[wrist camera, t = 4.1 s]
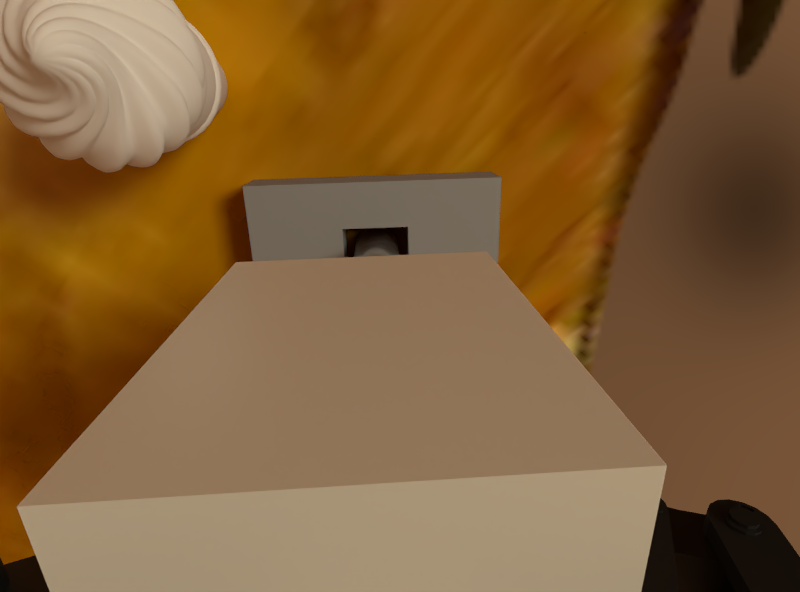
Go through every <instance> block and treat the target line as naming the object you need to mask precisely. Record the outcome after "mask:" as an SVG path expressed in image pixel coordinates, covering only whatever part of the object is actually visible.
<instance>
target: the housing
mask: <svg viewBox="0 0 800 592" xmlns="http://www.w3.org/2000/svg"><path fill="white" fill-rule="evenodd" d="M666 467H667V465H666V464H665V462H664V461H663V460H662V459H661V458H660V456H659V455H658V454H657V453H656V452H655V451H654V450H653V448H652V447H651V446H650V445H649V443H648V442H647V441H646V440H645V439H644V438H643V436H642V435H641V434H640V433H639V432H638V430H637V429H636V428H635V427H634V426H633V424H632V423H631V422H630V421H629V420H628V418H626V416H625V415H624V414H623V413H622V411H621V410H620V409H619V408H618V407H617V405H616V404H615V403H614V402H613V401H612V399H611V398H610V397H609V396H608V395H607V394H606V393H605V391H604V390H603V389H602V388H601V386H600V385H599V384H598V383H597V382H596V381H595V379H594V378H593V377H592V376H591V375H590V373H589V372H588V371H587V370H586V369H585V367H584V366H583V365H582V364H581V363H580V362H579V360H578V359H577V358H576V357H575V356H574V354H573V353H572V352H571V351H570V350H569V348H568V347H567V346H566V345H565V344H564V343H563V341H562V340H561V339H560V338H559V337H558V335H557V334H556V333H555V332H554V331H553V329H552V328H551V327H550V326H549V325H548V324H547V322H546V321H545V320H544V319H543V318H542V316H541V315H540V314H539V313H538V312H537V310H536V309H535V308H534V307H533V306H532V305H531V303H530V302H529V301H528V300H527V299H526V297H525V296H524V295H523V294H522V293H521V291H520V290H519V289H518V288H517V287H516V286H515V284H514V283H513V282H512V281H511V280H510V278H509V277H508V276H507V275H506V274H505V272H504V271H503V270H502V269H501V268H500V267H499V265H498V264H497V263H496V262H495V261H494V259H493V258H492V257H491V256H490V255H489V253H488V252H487V251H483V252H460V253H437V254H413V255H390V256H367V257H344V258H321V259H297V260H274V261H251V262H236V263H235V264H234V265H233V266H232V267H231V268H230V269H229V270H228V272H227V273H226V274H225V275H224V276H223V277H222V278H221V279H220V281H219V282H218V283H217V284H216V285H215V286H214V287H213V288H212V289H211V291H210V292H209V293H208V294H207V295H206V296H205V297H204V298H203V299H202V301H201V302H200V303H199V304H198V305H197V306H196V307H195V308H194V309H193V311H192V312H191V313H190V314H189V315H188V316H187V317H186V318H185V320H184V321H183V322H182V323H181V324H180V325H179V326H178V327H177V328H176V330H175V331H174V332H173V333H172V334H171V335H170V336H169V337H168V338H167V340H166V341H165V342H164V343H163V344H162V345H161V346H160V347H159V348H158V350H157V351H156V352H155V353H154V354H153V355H152V356H151V357H150V359H149V360H148V361H147V362H146V363H145V364H144V365H143V366H142V367H141V369H140V370H139V371H138V372H137V373H136V374H135V375H134V376H133V377H132V379H131V380H130V381H129V382H128V383H127V384H126V385H125V386H124V387H123V389H122V390H121V391H120V392H119V393H118V394H117V395H116V396H115V398H114V399H113V400H112V401H111V402H110V403H109V404H108V405H107V406H106V408H105V409H104V410H103V411H102V412H101V413H100V414H99V415H98V416H97V418H96V419H95V420H94V421H93V422H92V423H91V424H90V425H89V426H88V428H87V429H86V430H85V431H84V432H83V433H82V434H81V435H80V437H79V438H78V439H77V440H76V441H75V442H74V443H73V444H72V445H71V447H70V448H69V449H68V450H67V451H66V452H65V453H64V454H63V455H62V457H61V458H60V459H59V460H58V461H57V462H56V463H55V464H54V465H53V467H52V468H51V469H50V470H49V471H48V472H47V473H46V474H45V476H44V477H43V478H42V479H41V480H40V481H39V482H38V483H37V484H36V486H35V487H34V488H33V489H32V490H31V491H30V492H29V493H28V494H27V496H26V497H25V498H24V499H23V500H22V501H21V502H20V503H19V504H18V506H17V509H18V512H19V514H20V517H21V519H22V522H23V524H24V527H25V530H26V532H27V535H28V537H29V540H30V542H31V545H32V547H33V550H34V553H35V555H36V558H37V560H38V563H39V565H40V568H41V570H42V573H43V576H44V578H45V581H46V583H47V586H48V588H49V591H50V592H641V591H642V586H643V581H644V576H645V571H646V566H647V561H648V556H649V551H650V546H651V541H652V536H653V531H654V527H655V522H656V517H657V512H658V507H659V502H660V497H661V492H662V487H663V482H664V477H665V472H666Z"/></svg>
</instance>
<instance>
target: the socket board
mask: <svg viewBox="0 0 800 592" xmlns="http://www.w3.org/2000/svg"><path fill="white" fill-rule="evenodd" d="M242 187H243V194H244V201H245V209H246V216H247V223H248V230H249V237H250V244H251V251H252V259H253V261H274V260H297V259H321V258H344V257H348V255H347V240H346V229H362V228H389V227H406V255H413V254H437V253H460V252H483V251H487V252H488V253H489V255H490V256H491V257H492V258H493V259H494V261H495V262H496V263H497V264H498V246H499V223H500V200H501V177H500V176H498V175H496V174H494V173H492V172H475V173H445V174H416V175H387V176H358V177H329V178H300V179H271V180H253V181H251V182H249V183H248V184H246V185H244V186H242Z"/></svg>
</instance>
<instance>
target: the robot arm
mask: <svg viewBox="0 0 800 592" xmlns="http://www.w3.org/2000/svg"><path fill="white" fill-rule="evenodd" d="M0 592H50V591H49V588H48V586H47V583H46V581H45V578H44V576H43V573H42V570H41V568H40V565H39V563H38V560H37V558H36V555H35V556H32V557H29V558H25V559H22V560H19V561H15V562H12V563H9V564H5V565H3V563H2V561H1V558H0ZM641 592H800V557H799V555H798V554H797V553H796V551H795V550H794V548H793V547H792V546H791V544H790V543H789V542H788V540H787V539H786V537H785V536H784V535H783V533H782V532H781V530H780V529H779V528H778V526H777V525H776V524H775V523H774V522H773V521H772V520H771V519H770V518H769V517H768V516H767V515H766V514H764V513H763V512H761V511H759V510H758V509H756V508H755V507H752V506H750V505H747V504H745V503H742V502H738V501H733V500H717V501H715V502H713V503H711V504H710V505H709V508H708V510H707V514H706V515H703V514H698V513H693V512H687V511H681V510H676V509H673V508H669V507H667V506H666V504H665V502H664V501H663V500H662V499H661V498H660V502H659V507H658V512H657V517H656V522H655V527H654V531H653V536H652V541H651V546H650V551H649V556H648V561H647V566H646V571H645V576H644V581H643V586H642V591H641Z"/></svg>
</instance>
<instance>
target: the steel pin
mask: <svg viewBox="0 0 800 592" xmlns="http://www.w3.org/2000/svg"><path fill="white" fill-rule="evenodd" d="M390 255H399V251H398V244H397V241H396V238H395V237H394V235H393V234H392V233H391V232H390V231H388V230H387V229H384V228H369V229H367V230H365V231H363V232H362V233H361V234H360V236H359V237H358V239H357V241H356V246H355V253H354V257H367V256H390Z"/></svg>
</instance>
